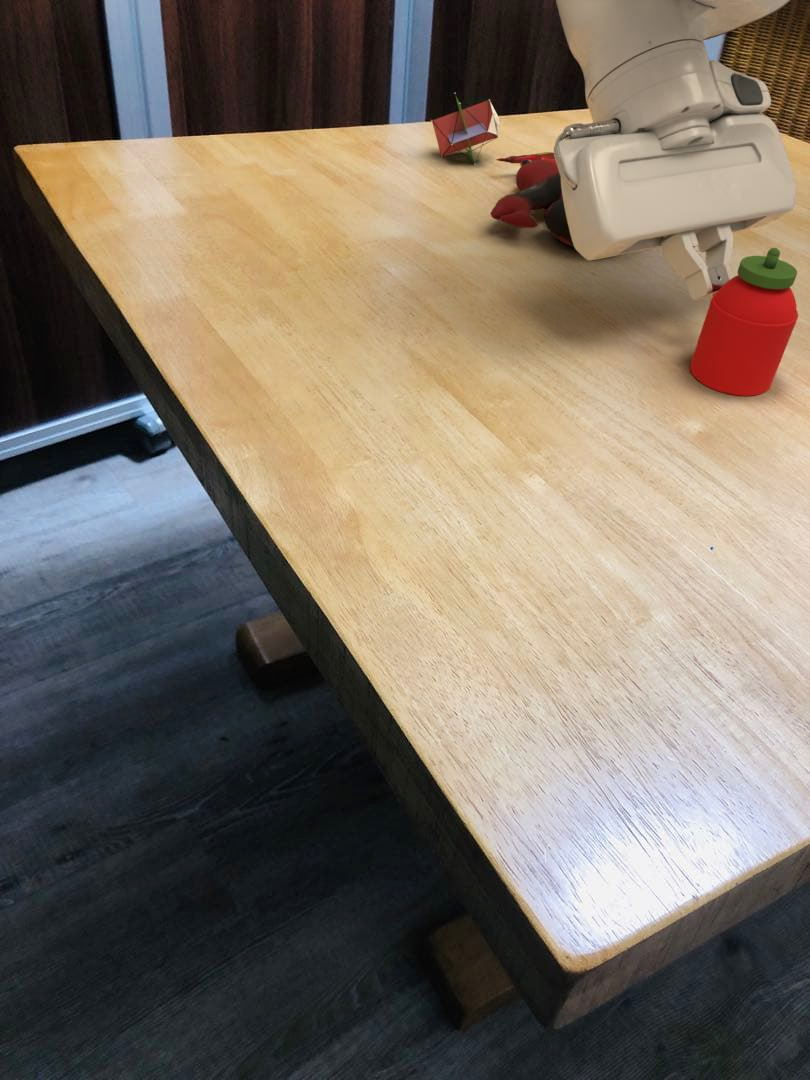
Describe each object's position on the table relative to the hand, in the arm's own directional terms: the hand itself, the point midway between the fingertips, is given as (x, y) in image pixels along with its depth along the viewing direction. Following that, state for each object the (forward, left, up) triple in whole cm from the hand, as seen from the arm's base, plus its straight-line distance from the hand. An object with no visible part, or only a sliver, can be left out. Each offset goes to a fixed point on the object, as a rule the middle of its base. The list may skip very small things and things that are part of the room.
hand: (714, 294), depth 64 cm
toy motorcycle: (+6, -30, -5) cm, 31 cm away
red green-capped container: (-2, +3, -5) cm, 6 cm away
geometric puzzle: (+15, -44, -5) cm, 47 cm away
